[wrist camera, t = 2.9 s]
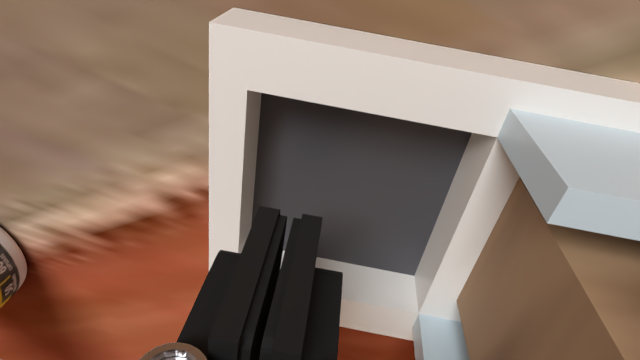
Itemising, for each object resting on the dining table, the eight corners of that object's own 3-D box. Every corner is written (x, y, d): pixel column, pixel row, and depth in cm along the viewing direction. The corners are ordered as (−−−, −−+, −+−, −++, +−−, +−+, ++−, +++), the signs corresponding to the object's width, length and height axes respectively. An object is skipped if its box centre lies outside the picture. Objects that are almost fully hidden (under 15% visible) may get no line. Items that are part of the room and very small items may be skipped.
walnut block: (704, 212, 11) (998, 467, 6) (603, 328, 13) (741, 570, 8) (519, 177, 11) (648, 399, 6) (456, 300, 13) (506, 524, 8)
